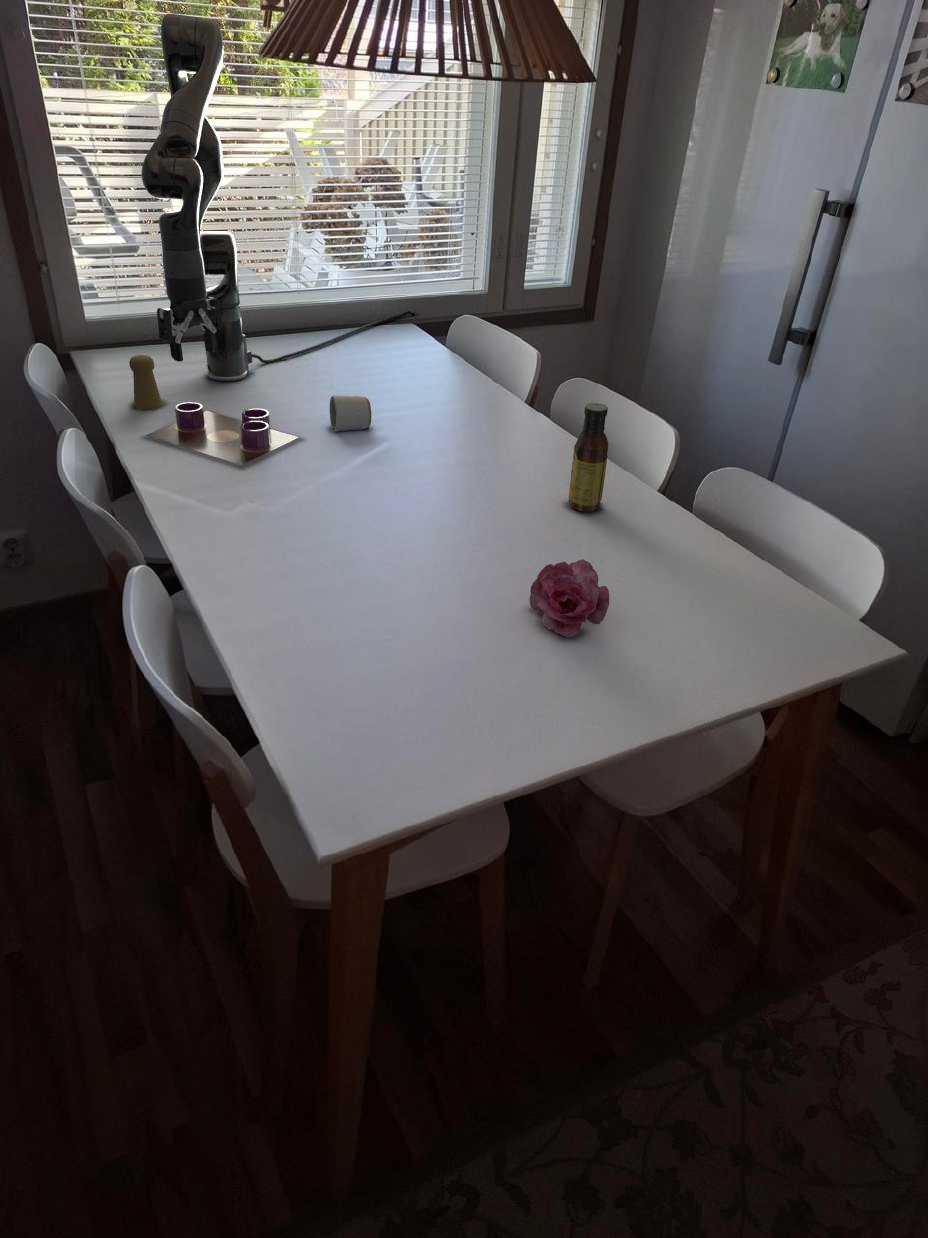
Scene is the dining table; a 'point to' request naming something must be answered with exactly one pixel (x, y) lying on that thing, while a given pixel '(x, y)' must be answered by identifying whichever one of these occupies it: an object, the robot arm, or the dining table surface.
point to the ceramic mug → (350, 412)
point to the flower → (569, 597)
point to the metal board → (219, 439)
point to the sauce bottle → (589, 461)
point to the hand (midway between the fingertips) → (194, 355)
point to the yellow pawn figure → (144, 383)
